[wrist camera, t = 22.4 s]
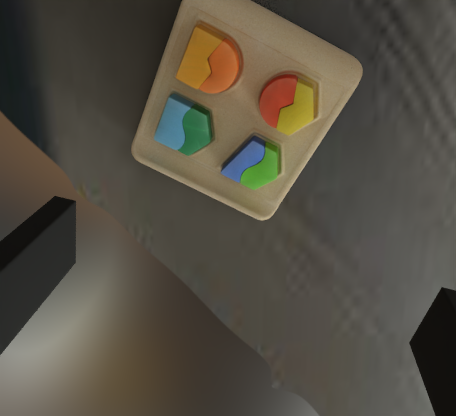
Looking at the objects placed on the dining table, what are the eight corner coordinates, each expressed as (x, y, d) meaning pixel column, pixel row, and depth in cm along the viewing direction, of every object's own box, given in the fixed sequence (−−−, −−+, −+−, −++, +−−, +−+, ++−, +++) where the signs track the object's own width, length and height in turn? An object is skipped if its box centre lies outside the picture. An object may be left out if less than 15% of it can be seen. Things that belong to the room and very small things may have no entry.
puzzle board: (131, 149, 44) (119, 160, 41) (197, -30, 35) (188, -33, 32) (269, 217, 45) (268, 233, 42) (366, 63, 37) (373, 68, 34)
